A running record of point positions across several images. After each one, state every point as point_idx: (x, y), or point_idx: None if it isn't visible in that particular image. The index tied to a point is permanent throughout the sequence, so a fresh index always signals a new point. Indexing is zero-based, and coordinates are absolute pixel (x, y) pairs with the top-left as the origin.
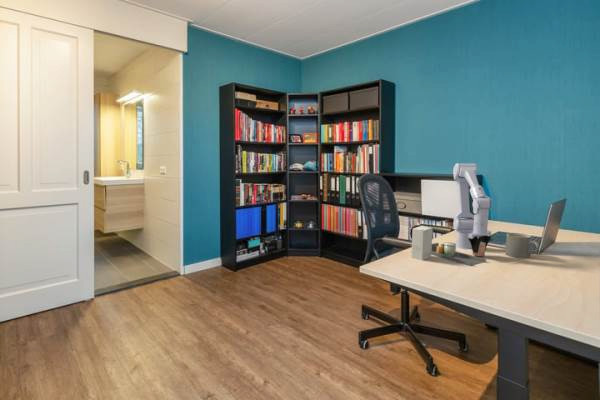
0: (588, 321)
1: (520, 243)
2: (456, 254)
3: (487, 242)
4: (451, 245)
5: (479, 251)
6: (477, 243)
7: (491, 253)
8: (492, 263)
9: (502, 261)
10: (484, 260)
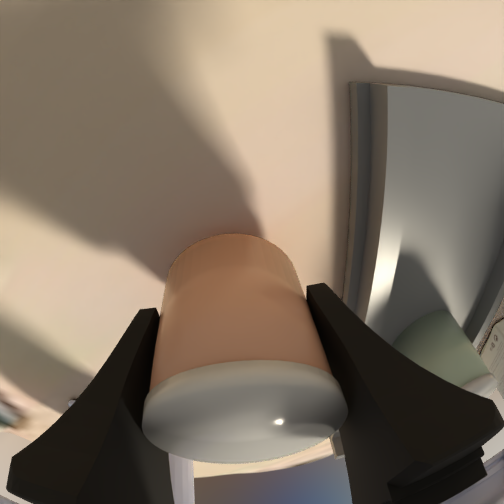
0: None
1: None
2: None
3: (92, 409)
4: (495, 378)
5: (293, 288)
6: (438, 377)
7: (25, 309)
8: (294, 38)
9: (92, 60)
10: (407, 89)
